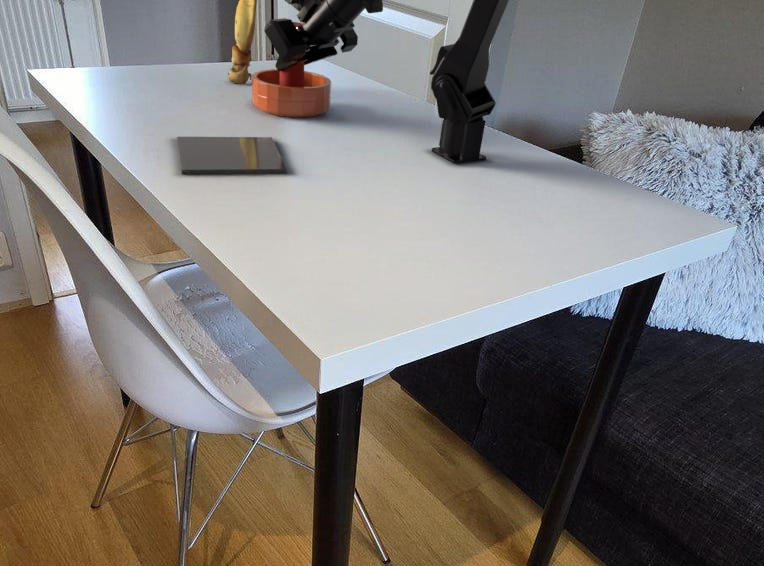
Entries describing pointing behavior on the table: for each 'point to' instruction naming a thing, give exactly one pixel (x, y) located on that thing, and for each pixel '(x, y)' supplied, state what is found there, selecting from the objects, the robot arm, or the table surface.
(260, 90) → the pot
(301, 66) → the red tall cylinder
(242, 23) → the tan tall curved piece
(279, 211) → the table surface
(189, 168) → the coaster
